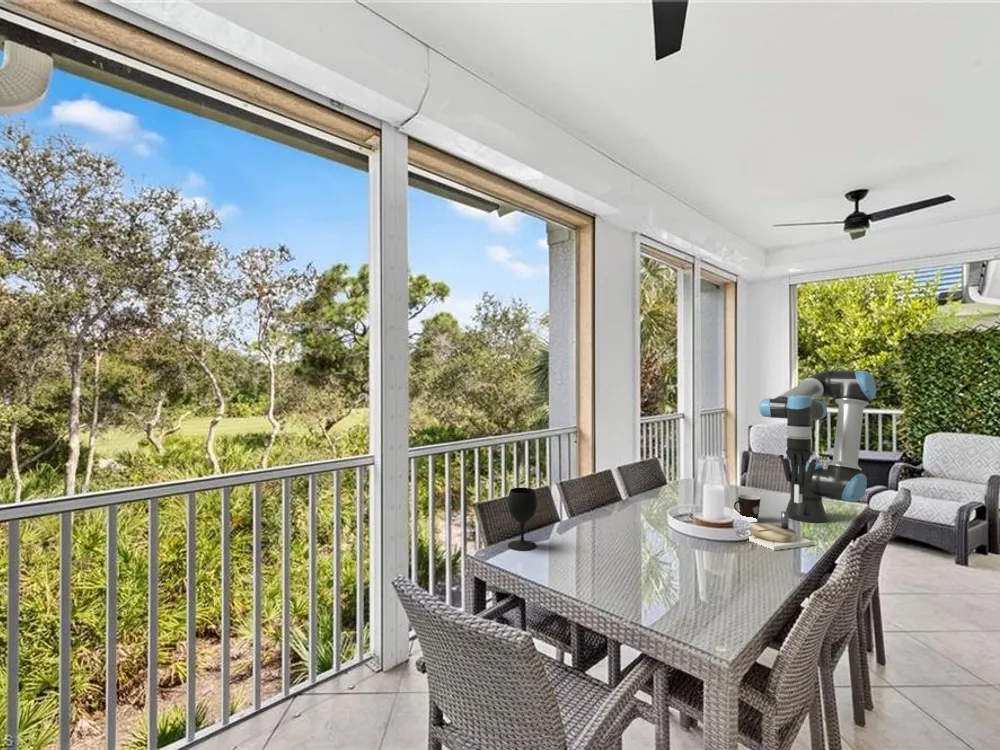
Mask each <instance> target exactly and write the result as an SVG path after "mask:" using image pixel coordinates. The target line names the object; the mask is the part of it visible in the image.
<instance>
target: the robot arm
mask: <svg viewBox="0 0 1000 750" xmlns="http://www.w3.org/2000/svg"><path fill="white" fill-rule="evenodd" d="M876 394H877V385H876V381H875V378H874V376H873V375H872V373H871V372H869V371H867V370H827V371H826V370H825V371H821V372H817V373H814V374H812V375H810V376H807V377H806V378H803V379H802V380H801V381H800V383H799V384H798V385H796V386H794V387H793V388H791V389H789V390H788V391H786V392H783V393H782V394H780V395H779V396H777V397H775V398H762V399H761V401H760V403H759V412H760V414H761V416H762V417H765V418H771V419H787V420H786V421H787V423H786V425H787V426H786V436H787V438H786V448H787V449H786V451H785V452H784V453H782V454H779V458H780V461H781V463H782V468H783V471H784V475H785V481H787V482H789V483H790V484H789V485H790V499H789V501H788V504H787V505H786V506H787V507H786V509H785V512H789V519H792V520H796V521H799V522H805V523H826V522H827V521H828V516H827V512H826V510H825V507H824V504H823V497H824V498H828V499H834V500H839V501H843V502H851V503H857V502H859V501H860V500H861V499H863V497H864V495H865V492H866V489H867V484H868V482H867V481H868V479H867V476H866V475H865V474H864V473H862V472H863V469H862V468H861V467H860V466H859V456H860V455H859V454H860V448H861V447H860V446H861V438H862V437H861V435H862V429H863V427H862V426H863V417H864V408H865V407H866V406H869V403H870V400H873V399H875V398H876V396H877V395H876ZM819 398H833V399H834V402H835V403H836V404H837V405H838V409H837V417H836V418H837V419H836V428H835V435H834V436H835V437H834V444H833V454H832V461H830V462H829V463H828V464H827V468H824V467H823V465H822V464H820V463H819V461H820V459H819V458H816V457H815V456H813V454H812V451H811V448H812V440H811V437H812V421H819V420H822V419H823V418H825V417H826V415H827V413H828V409H827V405H826V404H825V403H824V402H822V401H820V400H817V399H819ZM807 462H809V463H807Z"/></svg>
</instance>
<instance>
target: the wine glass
mask: <svg viewBox="0 0 1000 750" xmlns="http://www.w3.org/2000/svg"><path fill="white" fill-rule="evenodd" d="M507 498H508V499H507V508H508V512H509V514H510V516H511V517H512V518H513V520H515V521H516V522H518V523H519V526H520V539H517V540H512V541H510V542H508V544H507V548H509V549H511V550H513V551H518V552H528V551H533V550H535V549H536V548H537V546H538V545H537V543H535V542H534V541H531V540H527V539H525V538H524V535H525V533H524V531H525V529H524V528H525V524H526V523H527V522H529V521H530V520H531V519H532V518H533V517H534V515H535V514H536V511H537V507H538V499H537V494H536V491H535V489H533V488H531V487H514V488H511V489H510V490H509V494H508V497H507Z"/></svg>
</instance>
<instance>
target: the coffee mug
mask: <svg viewBox="0 0 1000 750" xmlns="http://www.w3.org/2000/svg"><path fill="white" fill-rule="evenodd" d="M761 500H762V499H761V497H760V496H758V495H753V494H737V501H735V502H734V504H733V508H734V509H735V511H736V512H737V513H739V516H740V515H742V516H746V517H753V518H756V519H757V520H759V516H760V515H759V513H760V505H761ZM737 503H738V507H739V510H738V508H737V506H736V505H737Z"/></svg>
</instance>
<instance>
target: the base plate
mask: <svg viewBox="0 0 1000 750" xmlns="http://www.w3.org/2000/svg"><path fill="white" fill-rule="evenodd" d="M748 542H750V543H753V542H754V543H753V544H756V543H757V544H756V545H758V544H759V545H758V546H761V545H762V546H761V547H763V546H764V548H765V547H767V548H766V549H768V548H770V549H772V550H771V551H773V550H777V551H781V550H780V549H784V550H789V549H788V548H791V549H795V548H796V547H798V548H805V547H811V546H810V545H812V546H813V544H814V543H813V540H810V539H806V538H804V537H802V536H799V535H796V539H795V540H794V541H790V542H778V541H770V540H765V539H761V538H758V537H755V536H753V535H752V536H749V541H748ZM804 546H805V547H804ZM770 549H769V550H770Z"/></svg>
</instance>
